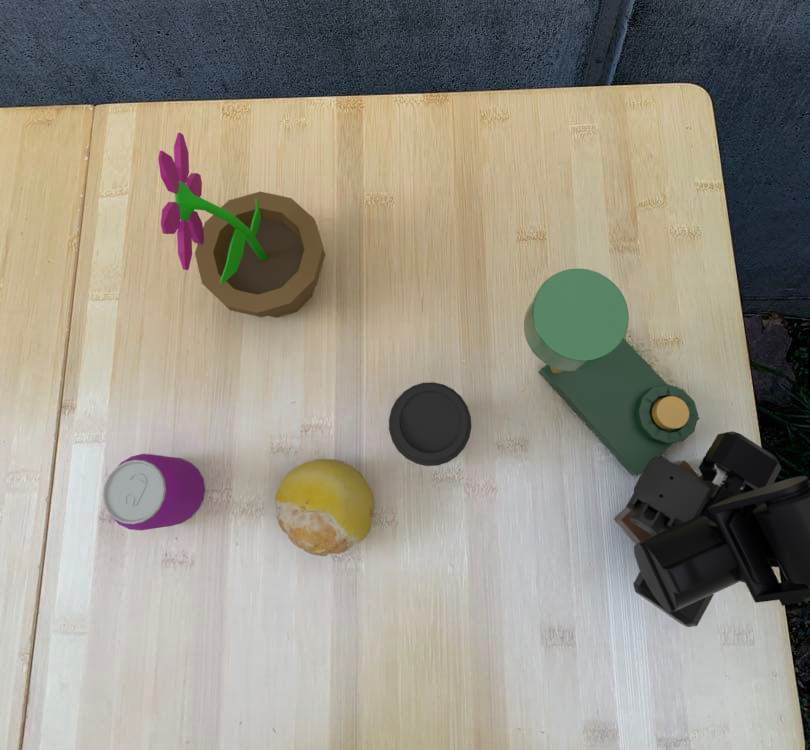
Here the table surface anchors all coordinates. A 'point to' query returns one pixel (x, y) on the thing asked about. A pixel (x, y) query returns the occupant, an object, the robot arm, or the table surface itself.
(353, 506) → the fruit
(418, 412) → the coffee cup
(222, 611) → the table surface
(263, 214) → the flowerpot
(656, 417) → the lamp switch
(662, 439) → the lamp base
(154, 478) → the beverage can
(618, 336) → the green short cylinder
